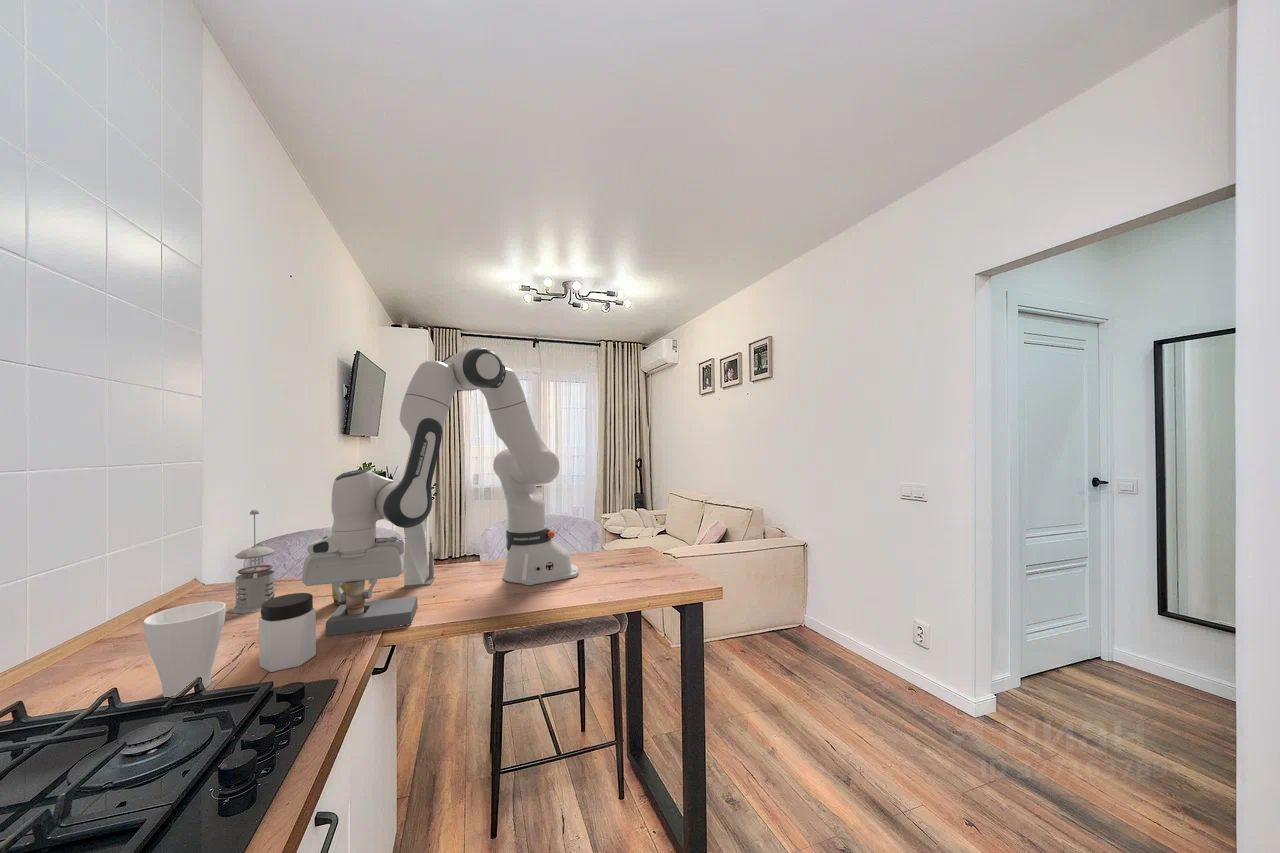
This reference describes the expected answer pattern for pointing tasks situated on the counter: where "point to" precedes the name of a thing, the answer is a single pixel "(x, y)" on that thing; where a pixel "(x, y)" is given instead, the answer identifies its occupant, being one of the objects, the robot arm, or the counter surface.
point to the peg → (355, 597)
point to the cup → (185, 643)
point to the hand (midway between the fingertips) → (355, 599)
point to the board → (373, 616)
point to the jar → (287, 631)
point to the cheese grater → (417, 557)
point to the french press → (254, 579)
